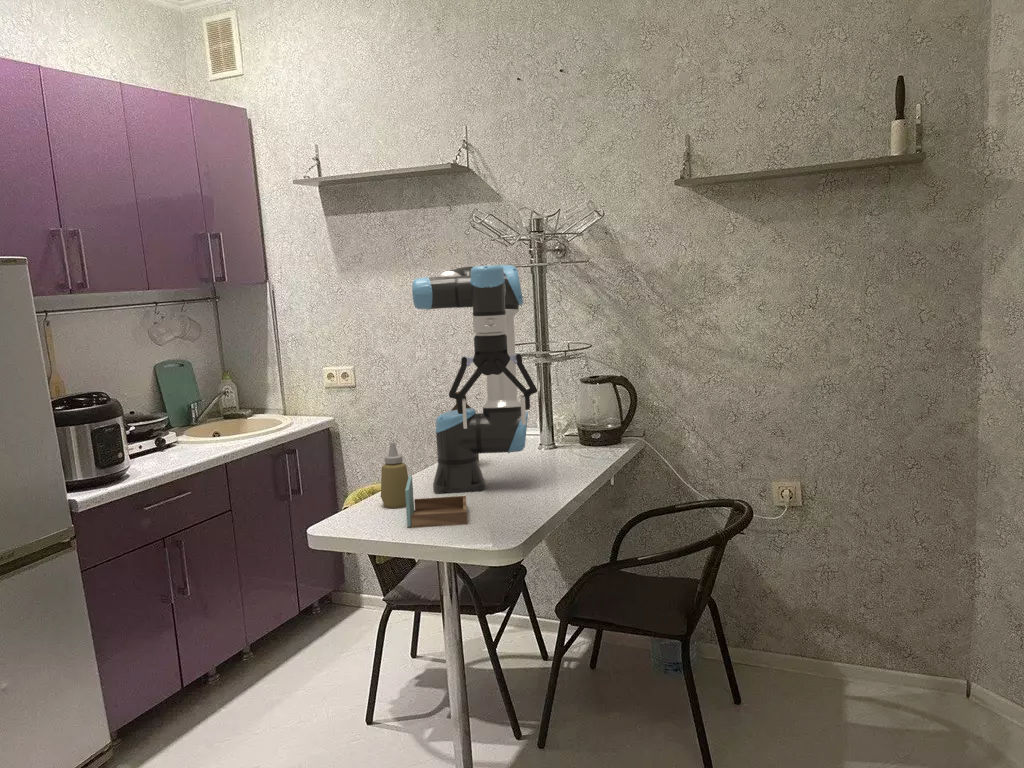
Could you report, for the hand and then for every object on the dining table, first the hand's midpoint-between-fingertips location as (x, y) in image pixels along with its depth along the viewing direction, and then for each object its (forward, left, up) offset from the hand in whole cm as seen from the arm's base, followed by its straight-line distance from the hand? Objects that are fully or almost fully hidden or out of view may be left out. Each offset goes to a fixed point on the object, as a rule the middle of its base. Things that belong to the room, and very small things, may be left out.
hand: (494, 425), depth 177 cm
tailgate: (-15, -22, -25) cm, 37 cm away
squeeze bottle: (-29, -26, -26) cm, 47 cm away
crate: (-15, -15, -26) cm, 33 cm away
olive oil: (-74, -7, -26) cm, 79 cm away
